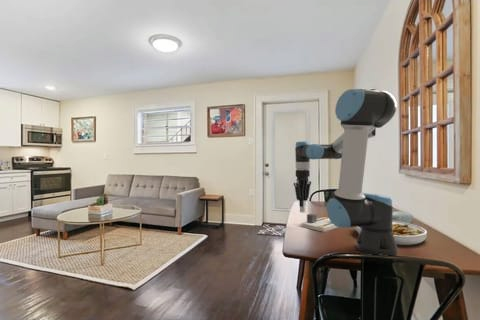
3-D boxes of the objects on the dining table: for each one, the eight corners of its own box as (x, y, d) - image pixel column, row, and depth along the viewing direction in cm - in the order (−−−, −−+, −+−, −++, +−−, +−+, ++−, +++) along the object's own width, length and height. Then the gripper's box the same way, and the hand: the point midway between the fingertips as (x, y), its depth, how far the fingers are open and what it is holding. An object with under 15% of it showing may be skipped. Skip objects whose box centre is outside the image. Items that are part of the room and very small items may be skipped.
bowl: (412, 230, 135) (412, 215, 135) (439, 250, 106) (439, 231, 106) (351, 227, 143) (350, 213, 143) (361, 244, 114) (360, 227, 114)
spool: (406, 217, 149) (407, 204, 145) (417, 228, 141) (417, 215, 136) (382, 222, 151) (382, 209, 146) (391, 234, 142) (391, 221, 138)
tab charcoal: (312, 222, 143) (312, 215, 143) (307, 221, 146) (307, 214, 146) (316, 221, 146) (316, 214, 146) (311, 220, 149) (311, 213, 149)
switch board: (323, 231, 133) (323, 227, 133) (301, 226, 144) (301, 222, 144) (345, 224, 147) (345, 221, 147) (324, 220, 158) (324, 216, 158)
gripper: (304, 168, 148) (304, 209, 148) (289, 169, 140) (289, 212, 140) (315, 169, 142) (315, 211, 143) (300, 170, 134) (300, 215, 134)
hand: (302, 212), depth 141 cm, fingers closed
